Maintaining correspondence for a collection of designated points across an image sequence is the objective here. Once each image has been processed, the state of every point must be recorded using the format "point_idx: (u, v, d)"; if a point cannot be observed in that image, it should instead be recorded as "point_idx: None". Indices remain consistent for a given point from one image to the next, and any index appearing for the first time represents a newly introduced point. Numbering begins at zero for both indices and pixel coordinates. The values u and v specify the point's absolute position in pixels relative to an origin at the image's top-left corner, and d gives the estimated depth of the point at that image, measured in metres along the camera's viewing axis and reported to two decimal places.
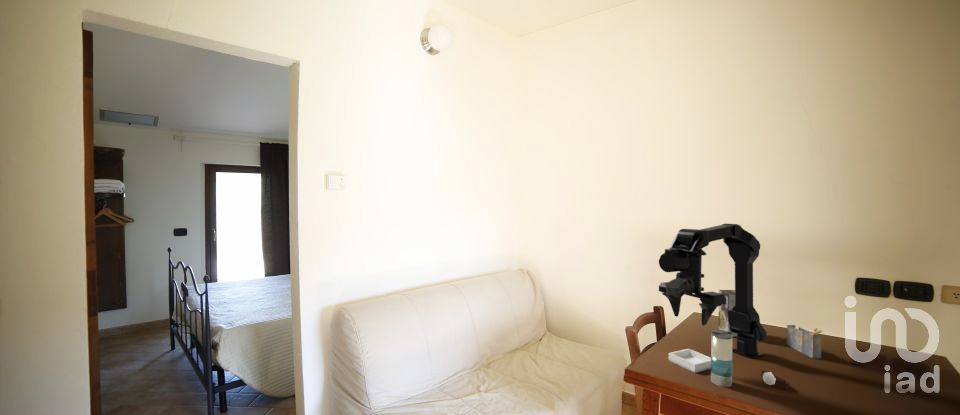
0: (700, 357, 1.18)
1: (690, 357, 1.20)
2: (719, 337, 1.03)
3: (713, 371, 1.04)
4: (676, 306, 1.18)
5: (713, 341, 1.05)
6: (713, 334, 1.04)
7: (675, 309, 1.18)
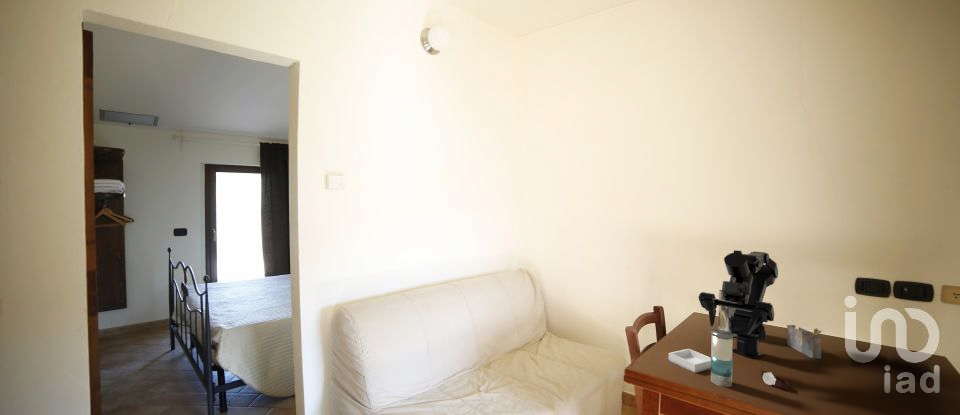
0: (700, 357, 1.18)
1: (690, 357, 1.20)
2: (719, 337, 1.03)
3: (713, 371, 1.04)
4: (713, 316, 1.15)
5: (713, 341, 1.05)
6: (713, 334, 1.04)
7: (712, 318, 1.14)
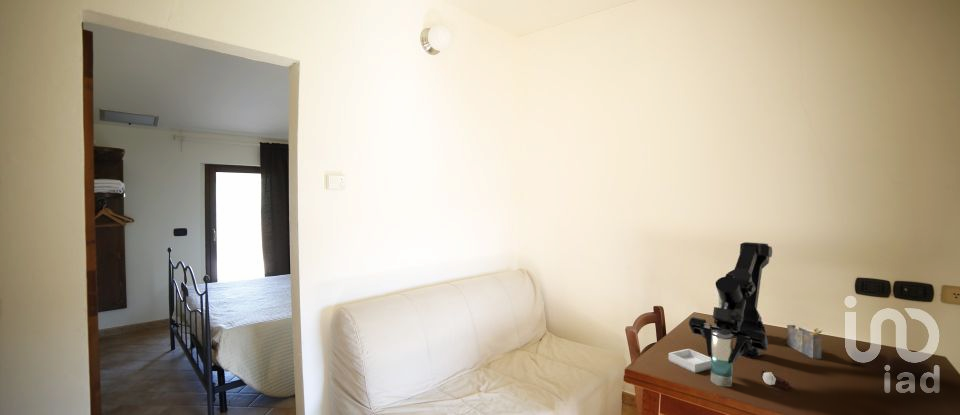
0: (700, 357, 1.18)
1: (690, 357, 1.20)
2: (719, 337, 1.03)
3: (713, 371, 1.04)
4: None
5: (713, 341, 1.05)
6: (713, 334, 1.04)
7: (710, 347, 1.07)
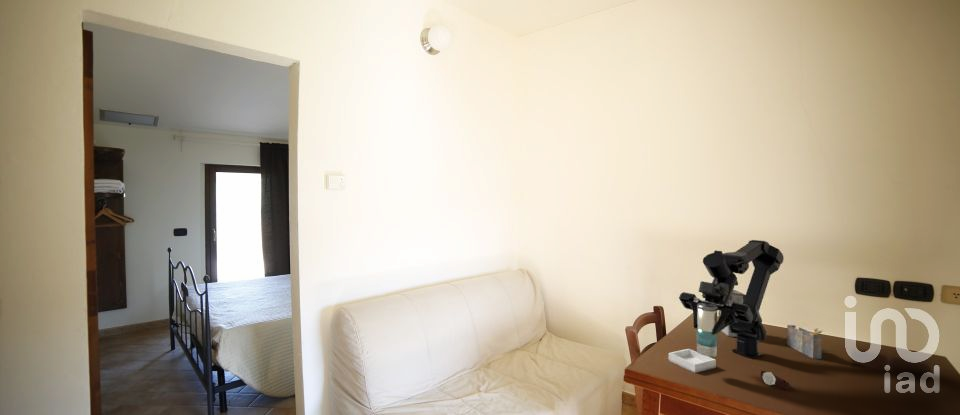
0: (700, 357, 1.18)
1: (690, 357, 1.20)
2: (703, 309, 1.08)
3: (698, 342, 1.10)
4: None
5: (698, 313, 1.10)
6: (698, 306, 1.10)
7: None
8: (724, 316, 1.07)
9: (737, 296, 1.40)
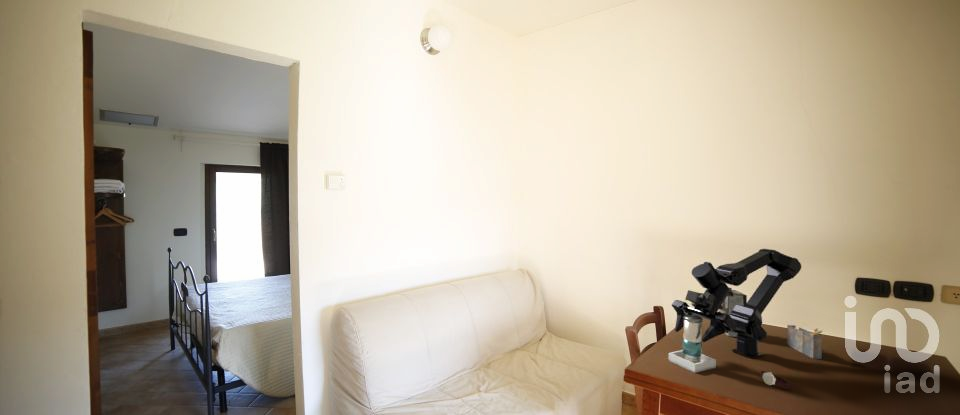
0: None
1: None
2: (687, 320, 1.15)
3: (683, 350, 1.17)
4: (680, 323, 1.21)
5: (684, 324, 1.17)
6: None
7: (678, 324, 1.21)
8: (713, 326, 1.11)
9: (737, 296, 1.40)
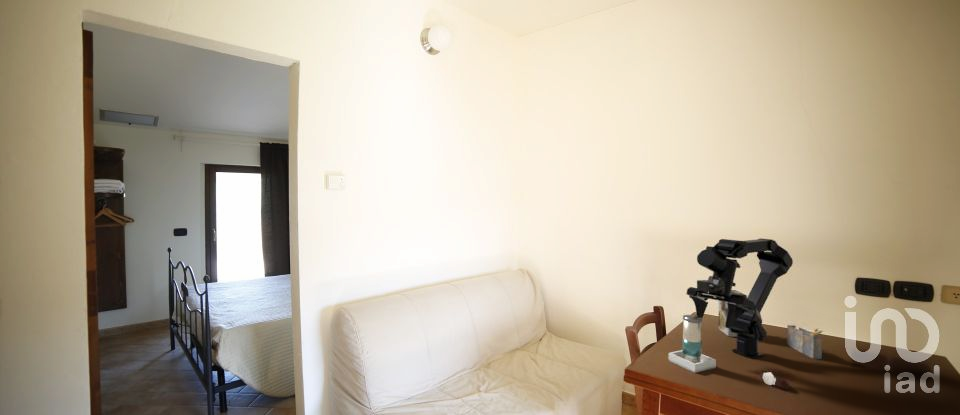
0: None
1: None
2: (686, 320, 1.15)
3: (682, 351, 1.17)
4: (701, 311, 1.21)
5: (683, 324, 1.17)
6: (683, 318, 1.17)
7: (699, 313, 1.21)
8: (731, 310, 1.11)
9: None
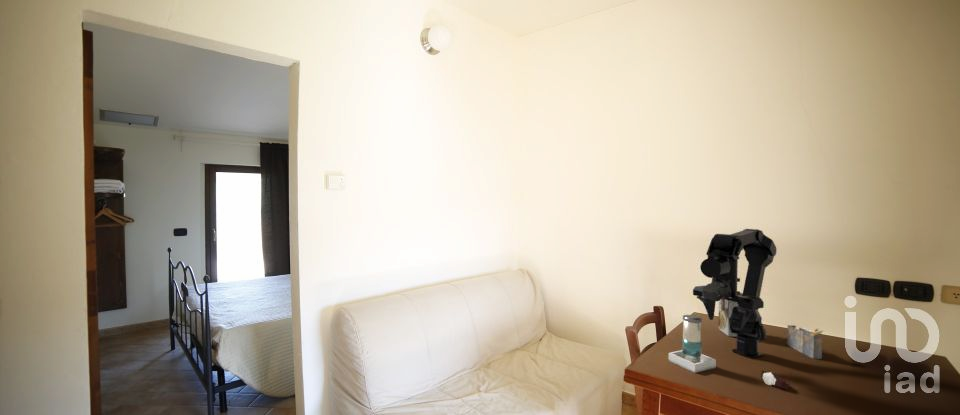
0: None
1: None
2: (686, 320, 1.16)
3: (682, 351, 1.17)
4: (711, 309, 1.20)
5: (683, 324, 1.17)
6: (683, 318, 1.17)
7: (710, 312, 1.20)
8: (742, 313, 1.10)
9: None
